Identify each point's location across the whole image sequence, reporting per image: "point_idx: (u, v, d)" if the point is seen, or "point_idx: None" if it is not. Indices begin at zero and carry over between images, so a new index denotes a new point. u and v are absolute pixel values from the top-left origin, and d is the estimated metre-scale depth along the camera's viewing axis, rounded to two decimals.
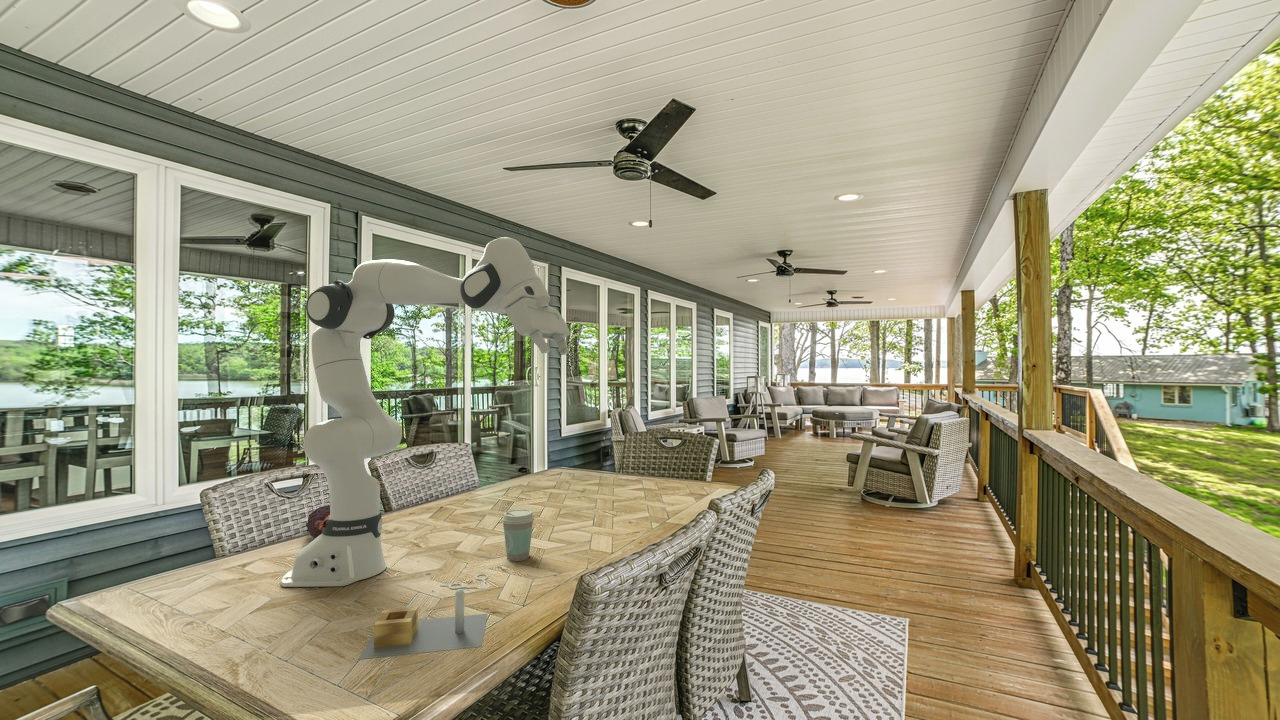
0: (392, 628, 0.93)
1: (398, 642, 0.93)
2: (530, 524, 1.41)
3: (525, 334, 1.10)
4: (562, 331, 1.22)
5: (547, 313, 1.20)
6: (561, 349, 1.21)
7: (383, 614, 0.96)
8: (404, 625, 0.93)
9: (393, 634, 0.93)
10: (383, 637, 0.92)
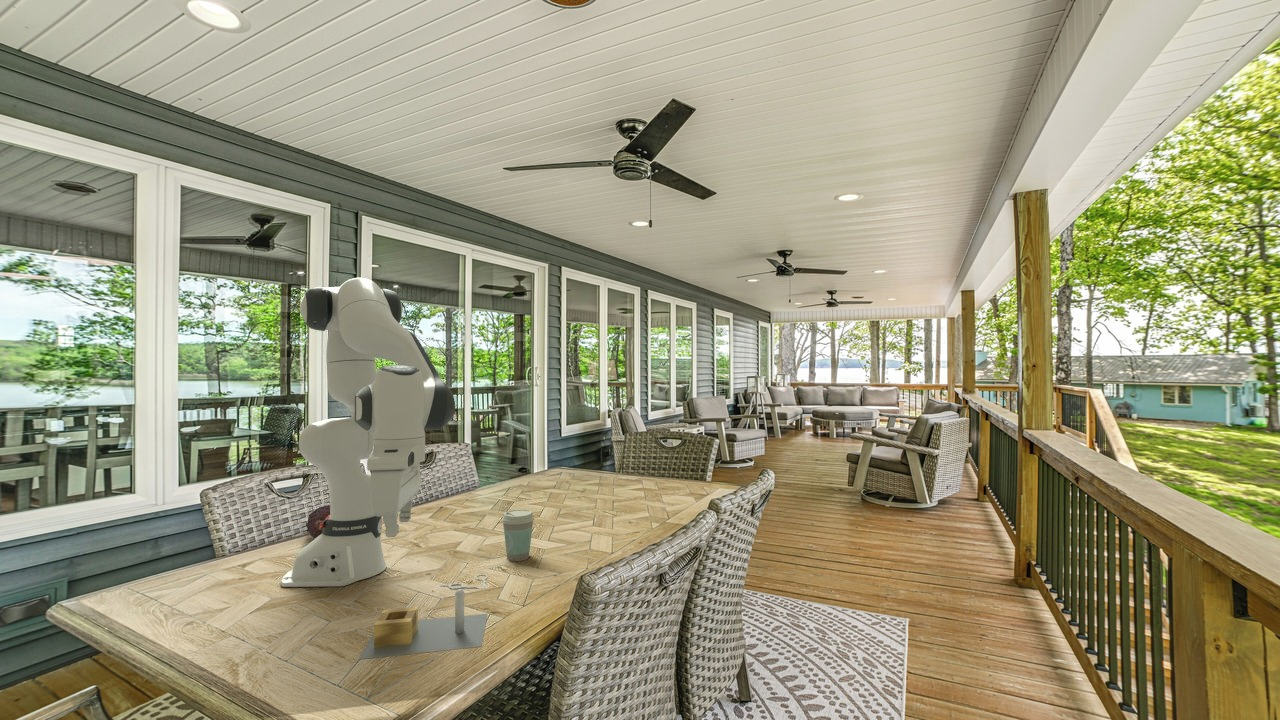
0: (392, 628, 0.93)
1: (398, 642, 0.93)
2: (530, 524, 1.41)
3: None
4: (415, 494, 1.02)
5: (410, 472, 0.99)
6: (403, 516, 1.00)
7: (383, 614, 0.96)
8: (404, 625, 0.93)
9: (393, 634, 0.93)
10: (383, 637, 0.92)
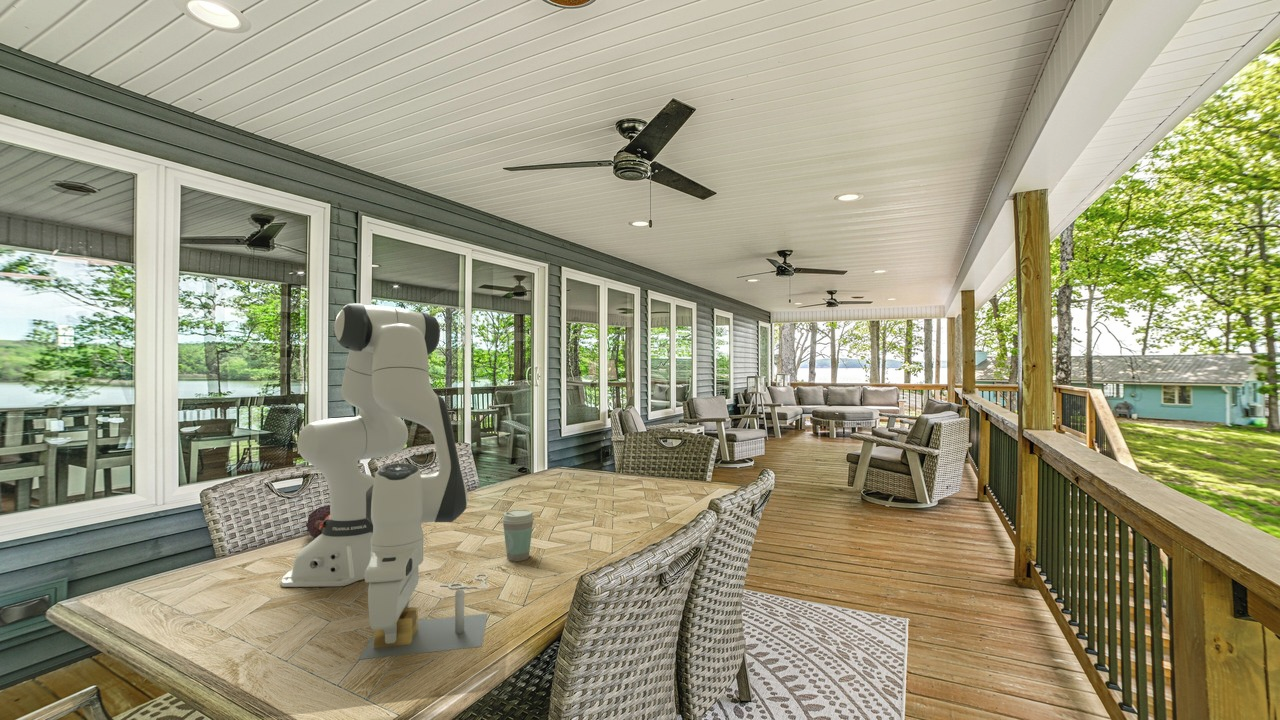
0: None
1: (398, 642, 0.93)
2: (530, 524, 1.41)
3: None
4: (413, 591, 1.01)
5: None
6: None
7: None
8: (404, 625, 0.93)
9: None
10: (383, 637, 0.92)
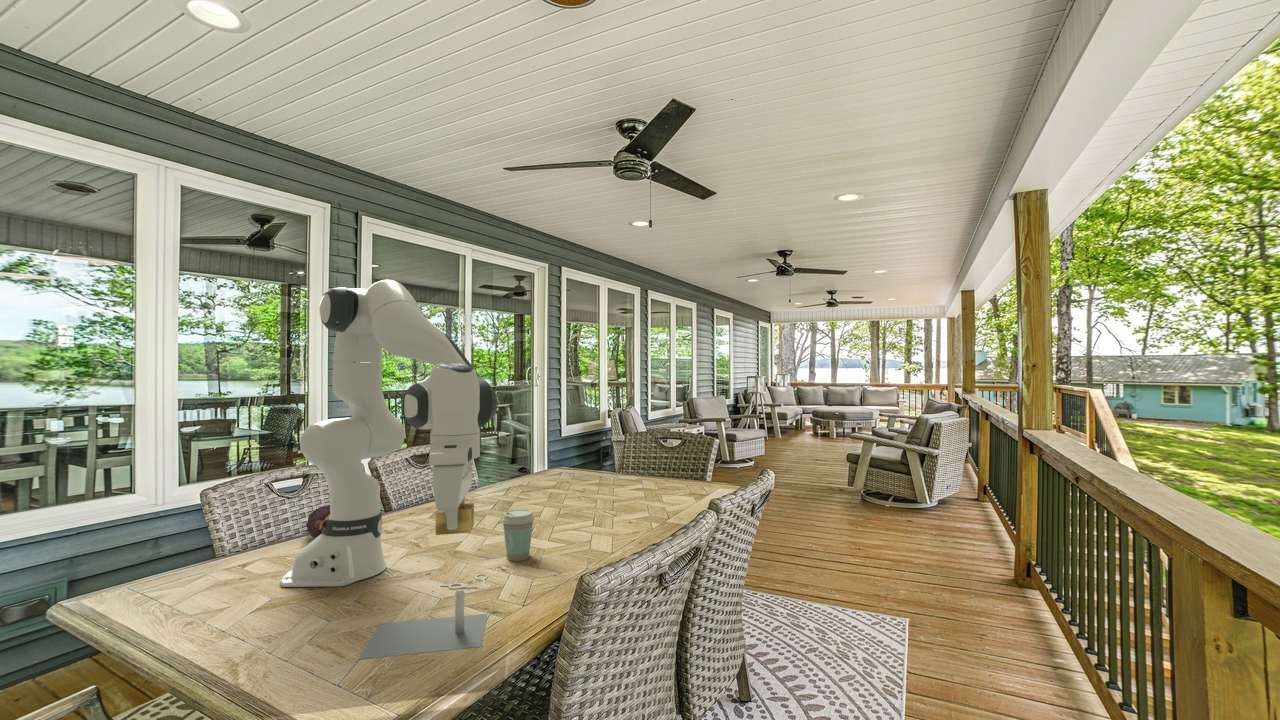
0: None
1: (459, 530, 0.95)
2: (530, 524, 1.41)
3: None
4: (468, 490, 1.03)
5: (465, 468, 1.01)
6: None
7: None
8: (464, 514, 0.95)
9: None
10: (444, 525, 0.95)
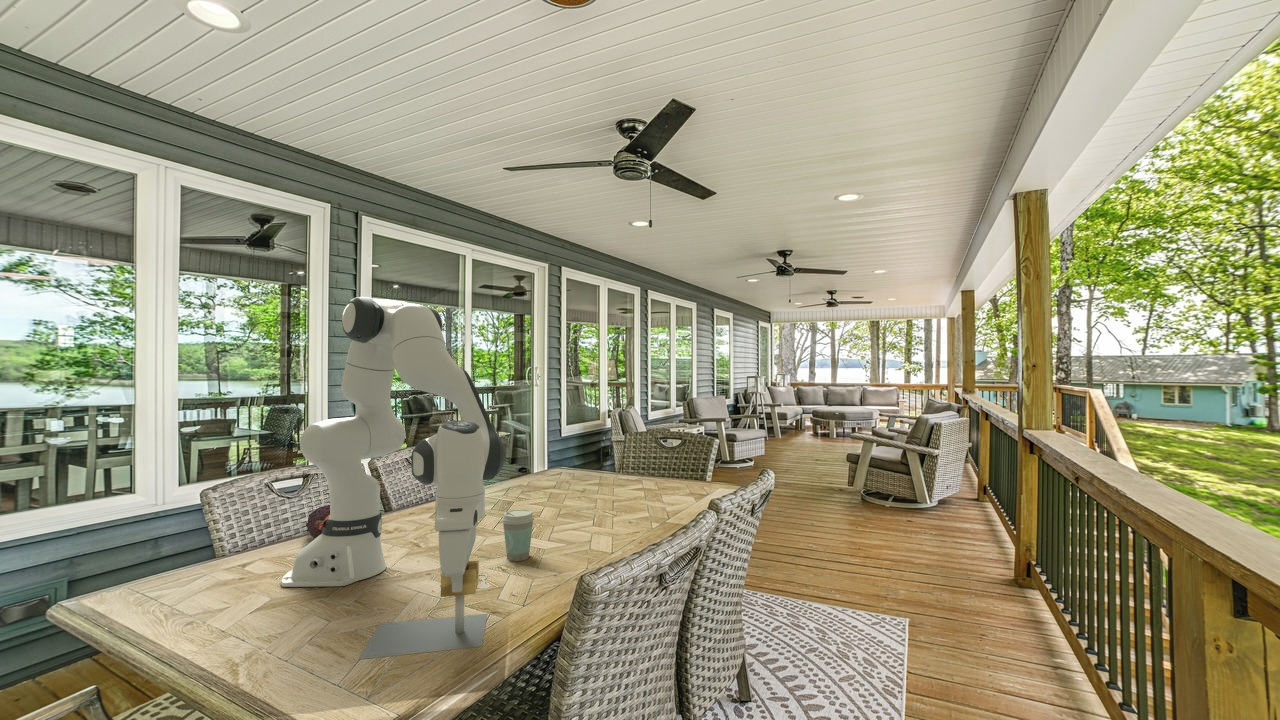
0: None
1: (464, 592, 0.95)
2: (530, 524, 1.41)
3: None
4: None
5: None
6: None
7: None
8: (469, 575, 0.95)
9: None
10: (449, 587, 0.95)
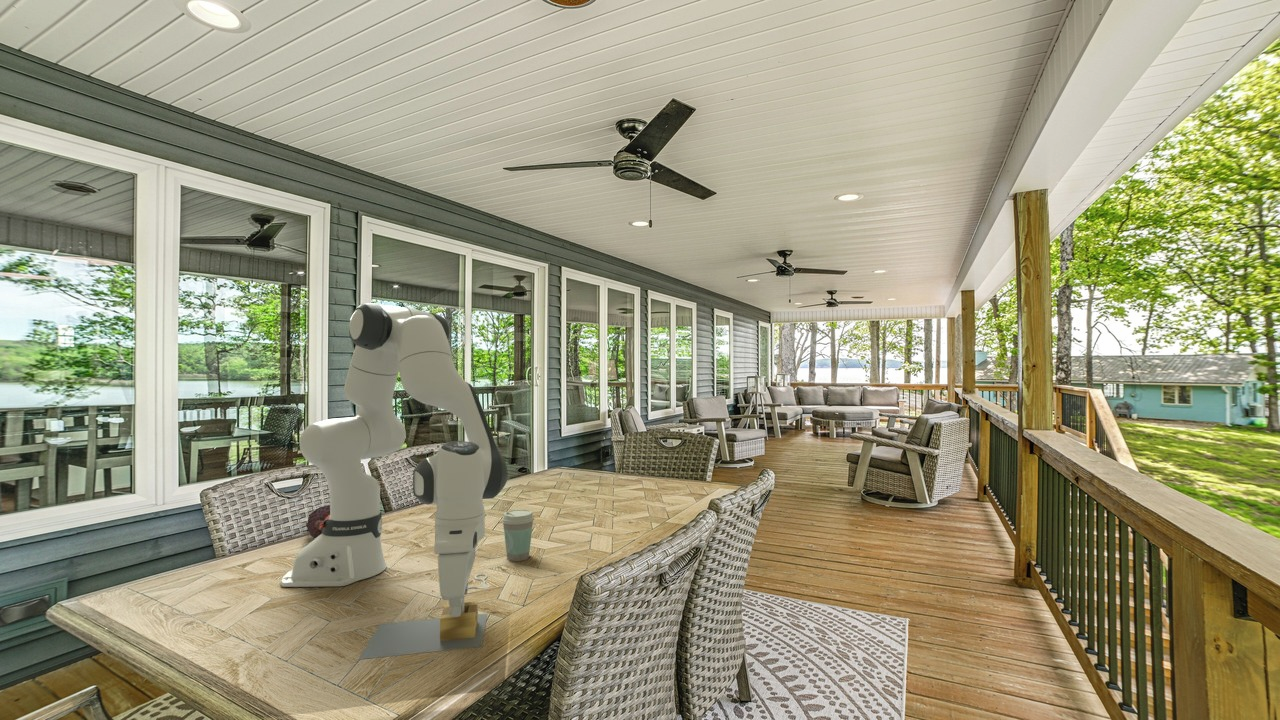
0: (457, 622, 0.95)
1: (463, 635, 0.95)
2: (530, 524, 1.41)
3: None
4: (472, 566, 1.03)
5: None
6: None
7: (446, 608, 0.98)
8: (469, 619, 0.95)
9: (458, 628, 0.95)
10: (449, 630, 0.94)
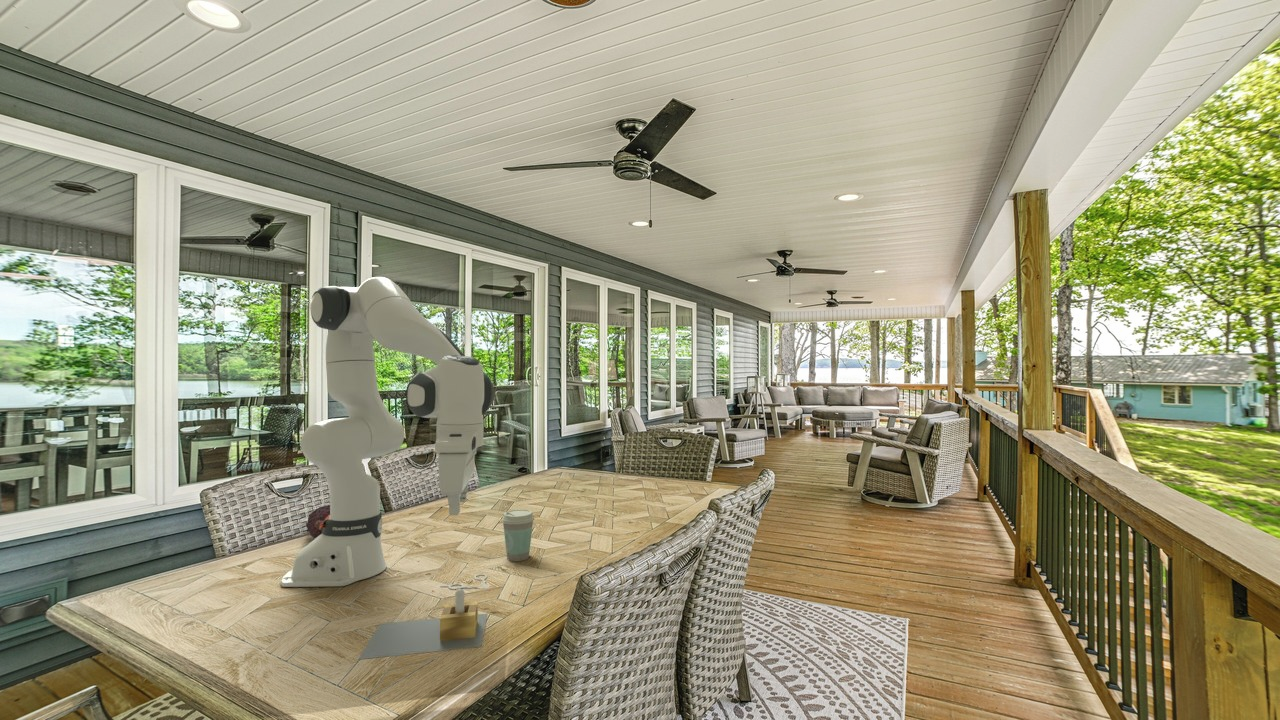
0: (457, 622, 0.95)
1: (463, 635, 0.95)
2: (530, 524, 1.41)
3: None
4: (471, 476, 1.08)
5: None
6: (460, 496, 1.07)
7: (446, 608, 0.98)
8: (469, 619, 0.95)
9: (458, 628, 0.95)
10: (449, 630, 0.94)
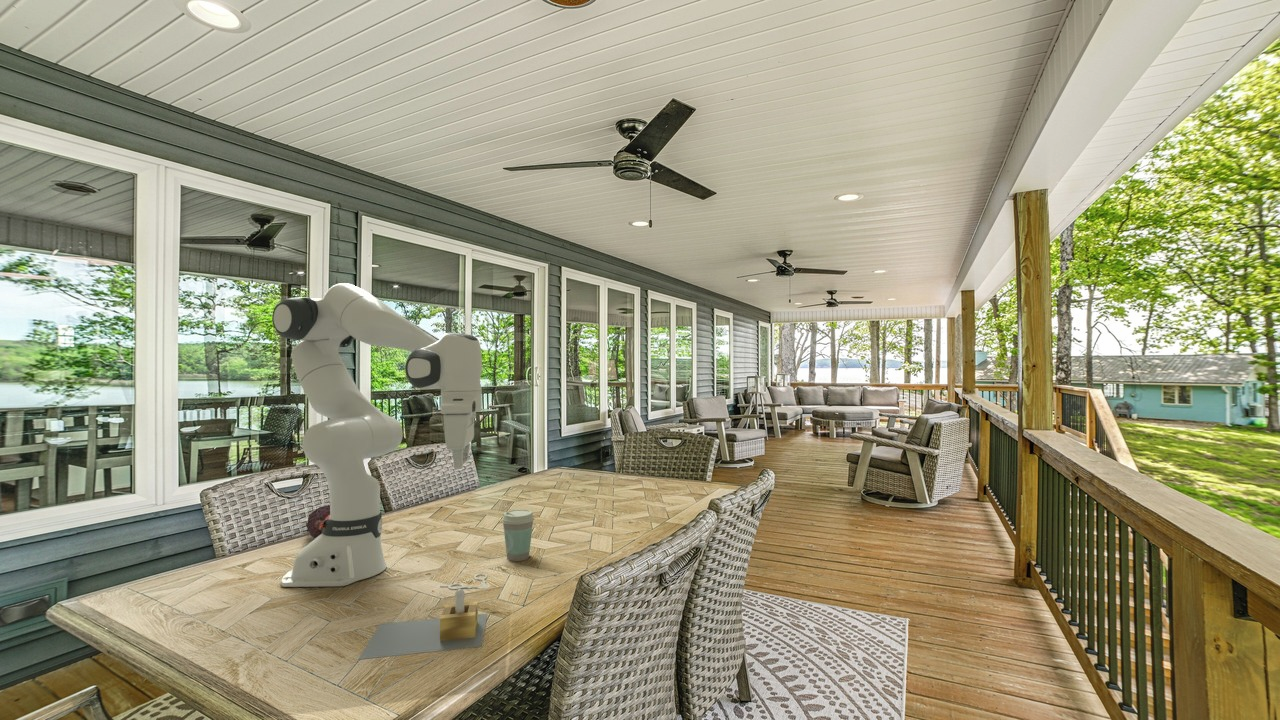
0: (457, 622, 0.95)
1: (463, 635, 0.95)
2: (530, 524, 1.41)
3: None
4: (471, 439, 1.24)
5: (469, 420, 1.21)
6: (463, 456, 1.22)
7: (446, 608, 0.98)
8: (469, 619, 0.95)
9: (458, 628, 0.95)
10: (449, 630, 0.94)
